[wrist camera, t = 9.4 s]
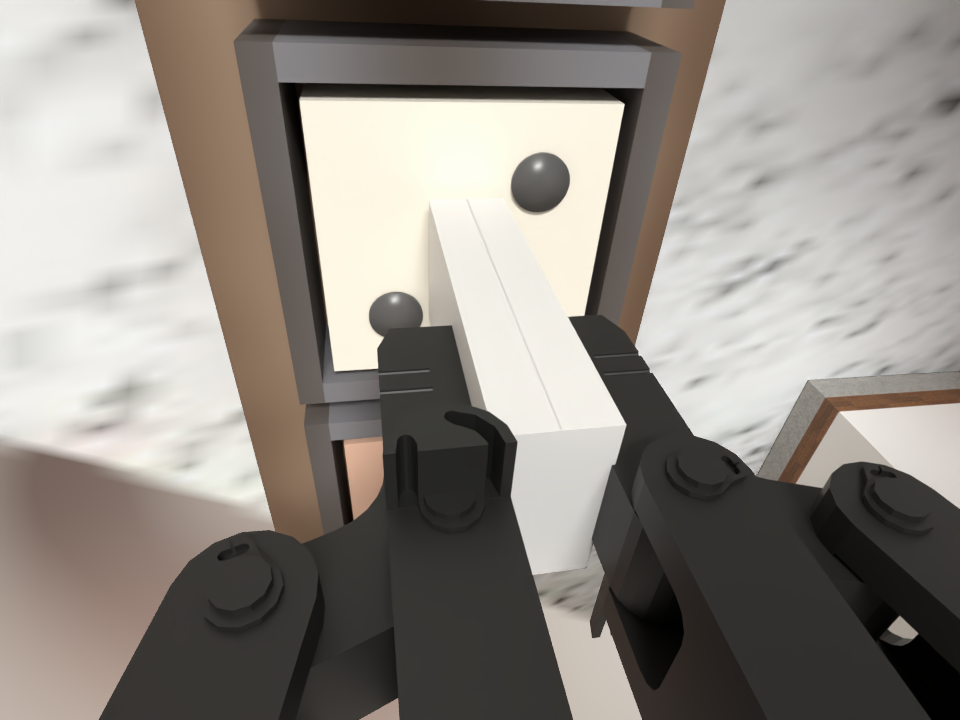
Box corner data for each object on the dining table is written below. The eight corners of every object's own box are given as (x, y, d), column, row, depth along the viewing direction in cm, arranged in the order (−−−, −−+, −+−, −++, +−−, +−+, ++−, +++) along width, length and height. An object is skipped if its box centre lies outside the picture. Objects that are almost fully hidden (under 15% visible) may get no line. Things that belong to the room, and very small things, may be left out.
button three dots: (590, 80, 13) (626, 105, 11) (555, 313, 16) (577, 358, 15) (306, 75, 12) (298, 102, 10) (335, 324, 15) (334, 374, 14)
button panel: (789, -603, 10) (1144, -1022, 5) (568, 457, 25) (613, 569, 21) (-4, -797, 8) (-461, -1709, 3) (286, 484, 23) (272, 614, 19)
